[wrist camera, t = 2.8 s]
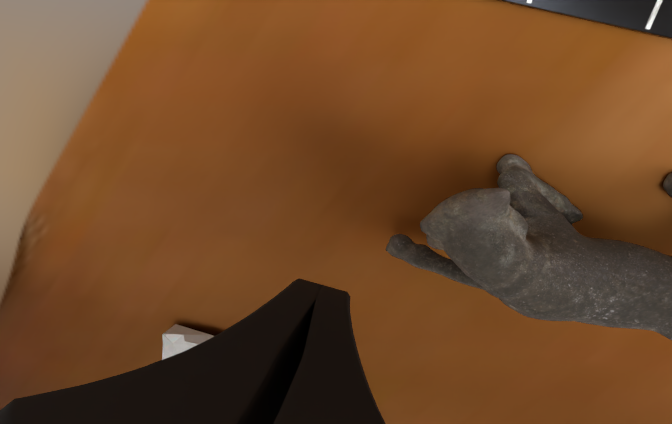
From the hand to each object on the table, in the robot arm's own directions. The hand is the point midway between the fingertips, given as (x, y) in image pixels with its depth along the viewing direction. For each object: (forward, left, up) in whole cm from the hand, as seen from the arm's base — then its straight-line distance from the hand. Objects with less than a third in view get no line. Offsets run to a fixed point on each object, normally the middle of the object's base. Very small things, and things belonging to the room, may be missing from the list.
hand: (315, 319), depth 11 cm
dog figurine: (-8, -1, -9) cm, 12 cm away
